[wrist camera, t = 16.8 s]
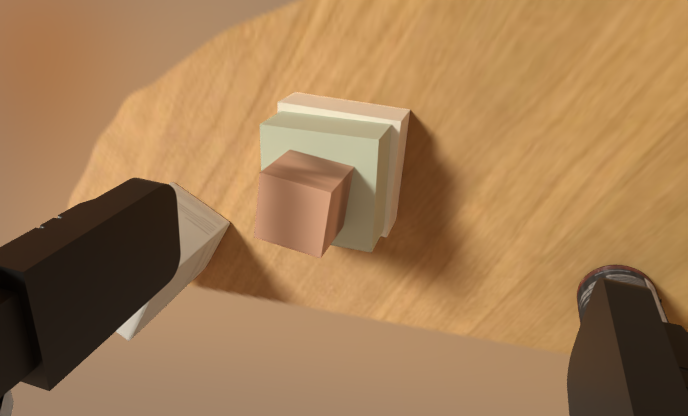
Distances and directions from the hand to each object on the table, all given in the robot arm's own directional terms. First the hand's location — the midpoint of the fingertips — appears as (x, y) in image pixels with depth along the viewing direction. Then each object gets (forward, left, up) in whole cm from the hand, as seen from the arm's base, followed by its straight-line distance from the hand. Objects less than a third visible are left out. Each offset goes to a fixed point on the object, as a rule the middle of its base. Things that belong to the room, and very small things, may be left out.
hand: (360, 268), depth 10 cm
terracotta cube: (+10, +11, -26) cm, 30 cm away
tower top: (+10, +11, -30) cm, 34 cm away
